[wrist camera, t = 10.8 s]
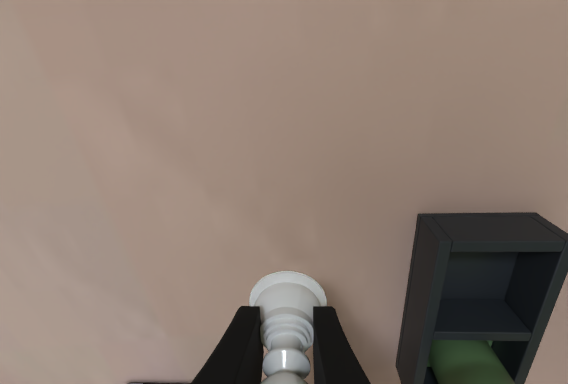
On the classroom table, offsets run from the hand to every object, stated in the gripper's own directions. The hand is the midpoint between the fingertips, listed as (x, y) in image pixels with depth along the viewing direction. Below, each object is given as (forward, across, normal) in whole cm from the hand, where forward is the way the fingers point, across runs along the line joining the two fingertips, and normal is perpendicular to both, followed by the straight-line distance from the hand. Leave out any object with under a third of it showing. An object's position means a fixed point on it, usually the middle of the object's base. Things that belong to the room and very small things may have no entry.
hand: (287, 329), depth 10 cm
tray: (+8, -10, +6) cm, 14 cm away
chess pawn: (+2, 0, 0) cm, 2 cm away
